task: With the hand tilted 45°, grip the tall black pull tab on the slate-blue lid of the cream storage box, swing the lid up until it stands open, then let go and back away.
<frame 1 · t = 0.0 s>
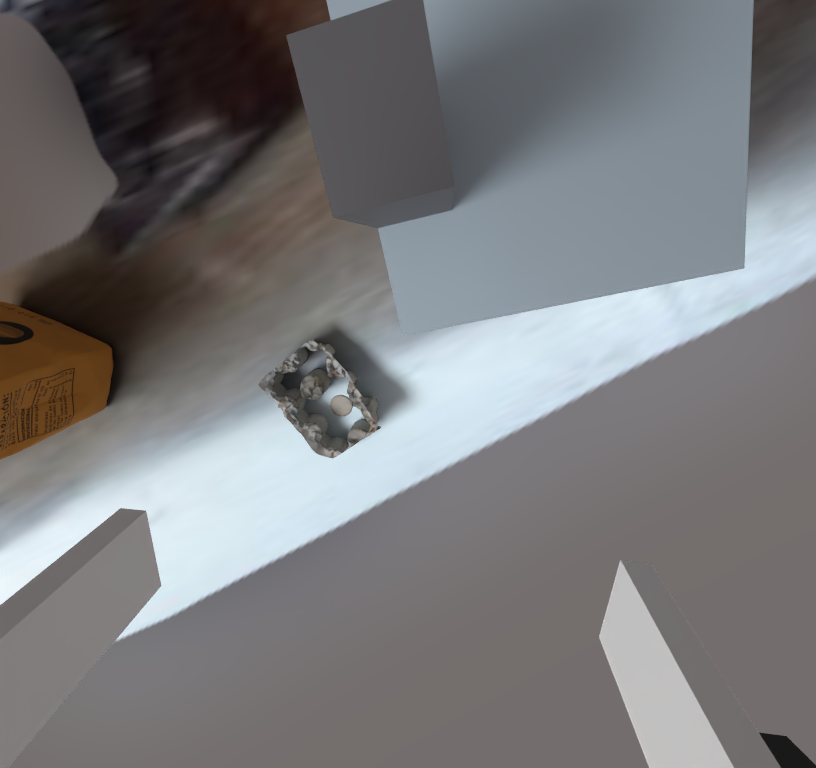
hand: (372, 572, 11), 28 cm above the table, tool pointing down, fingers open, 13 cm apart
egg carton: (330, 392, 41), on the table
lid: (568, 102, 16), point 18 cm above the table, hinge at 0.0°
coffee package: (65, 355, 42), on the table
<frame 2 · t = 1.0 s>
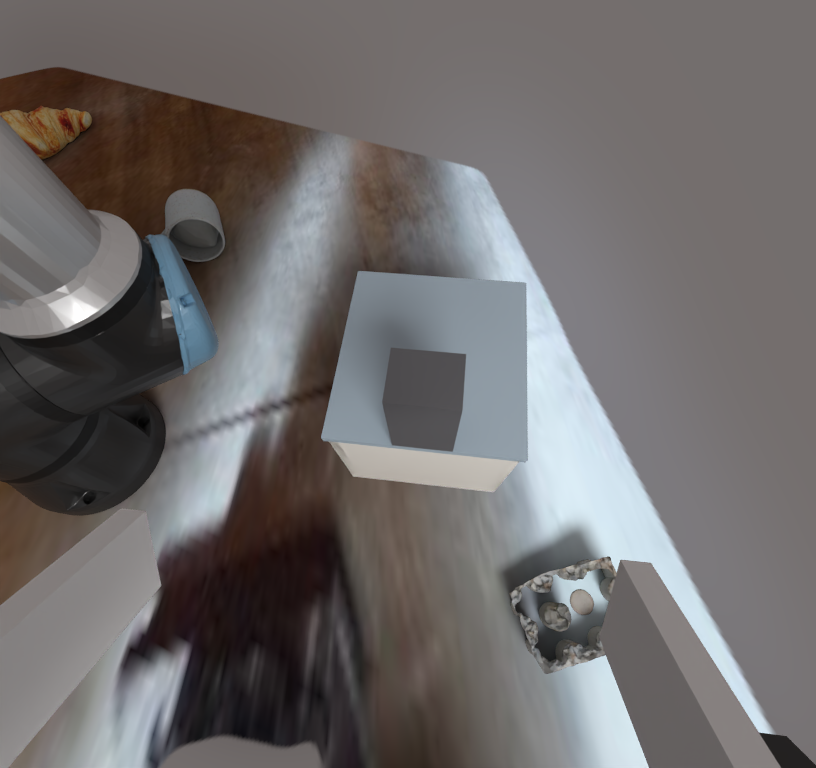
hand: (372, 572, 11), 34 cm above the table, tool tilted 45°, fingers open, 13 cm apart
storage box: (430, 410, 49), on the table
croissant: (44, 151, 75), on the table
ceramic mug: (198, 247, 63), on the table
egg carton: (566, 610, 40), on the table
lid: (433, 328, 33), point 18 cm above the table, hinge at 0.0°
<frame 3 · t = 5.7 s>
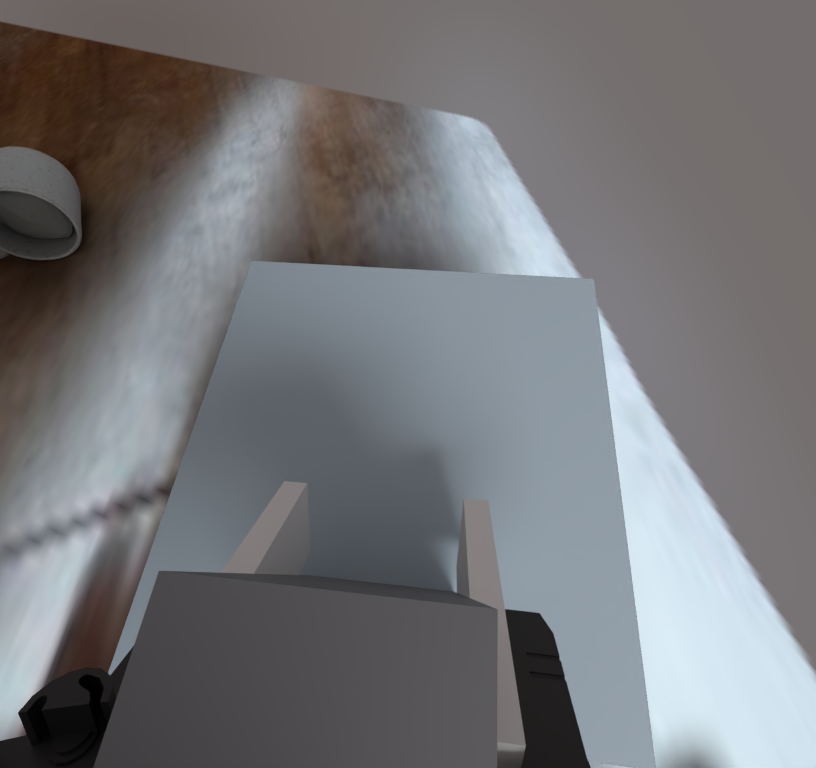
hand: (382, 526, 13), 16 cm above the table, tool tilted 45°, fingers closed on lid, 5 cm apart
ceramic mug: (50, 239, 42), on the table
lid: (389, 404, 12), point 18 cm above the table, hinge at 0.0°, touching gripper
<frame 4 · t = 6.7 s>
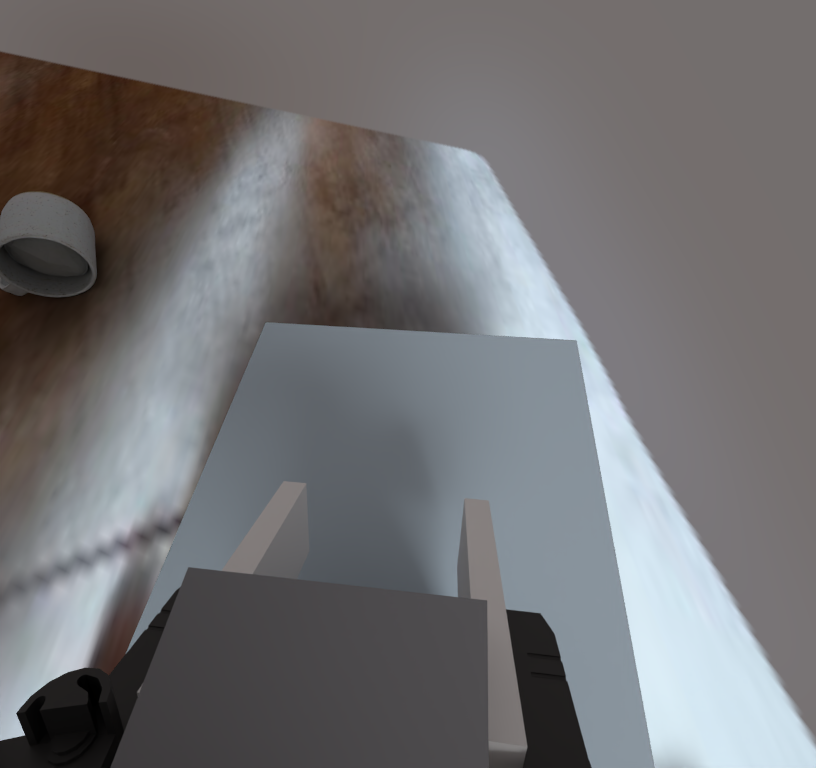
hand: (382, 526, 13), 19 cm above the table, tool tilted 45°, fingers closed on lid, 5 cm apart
ceramic mug: (66, 275, 44), on the table
lid: (390, 445, 13), point 19 cm above the table, hinge at 9.7°, touching gripper
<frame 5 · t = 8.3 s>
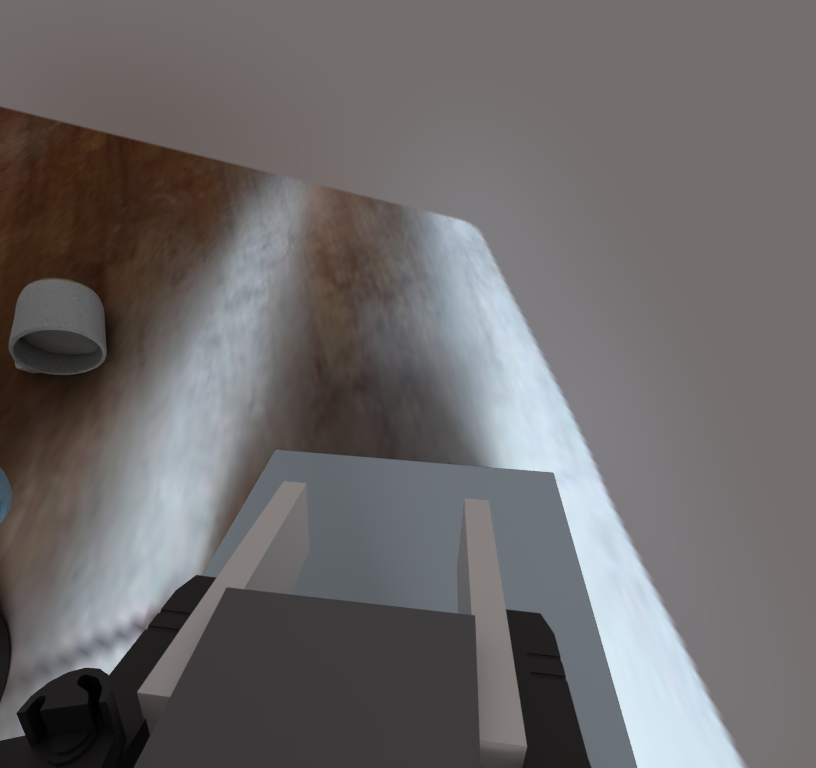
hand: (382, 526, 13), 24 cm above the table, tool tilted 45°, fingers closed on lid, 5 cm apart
ceramic mug: (77, 350, 46), on the table
lid: (387, 543, 15), point 22 cm above the table, hinge at 33.0°, touching gripper
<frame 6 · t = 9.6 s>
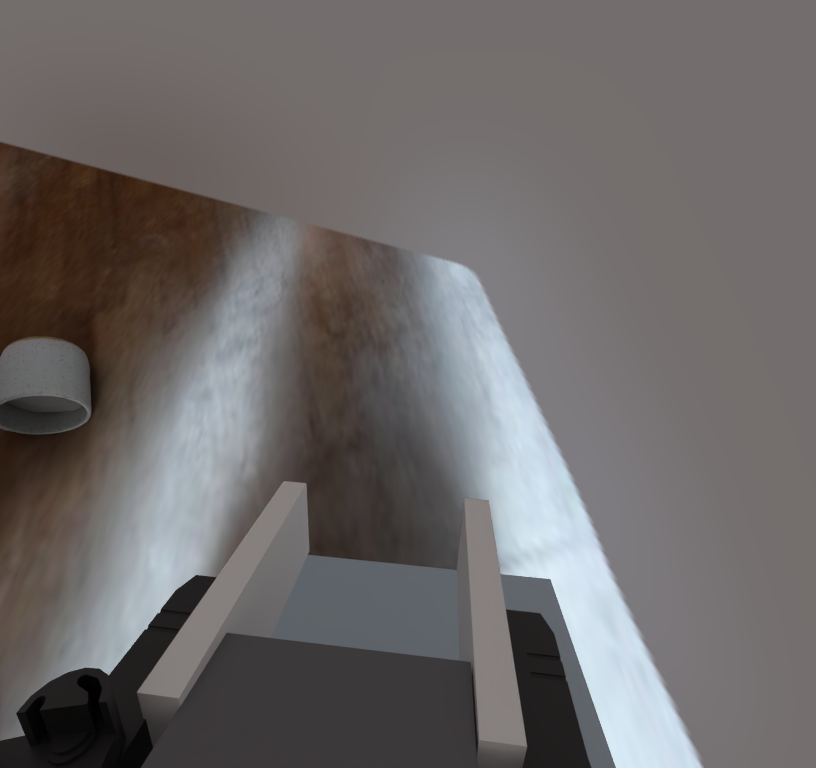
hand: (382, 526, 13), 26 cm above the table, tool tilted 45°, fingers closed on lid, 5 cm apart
ceramic mug: (62, 405, 45), on the table
lid: (380, 636, 14), point 23 cm above the table, hinge at 50.8°, touching gripper
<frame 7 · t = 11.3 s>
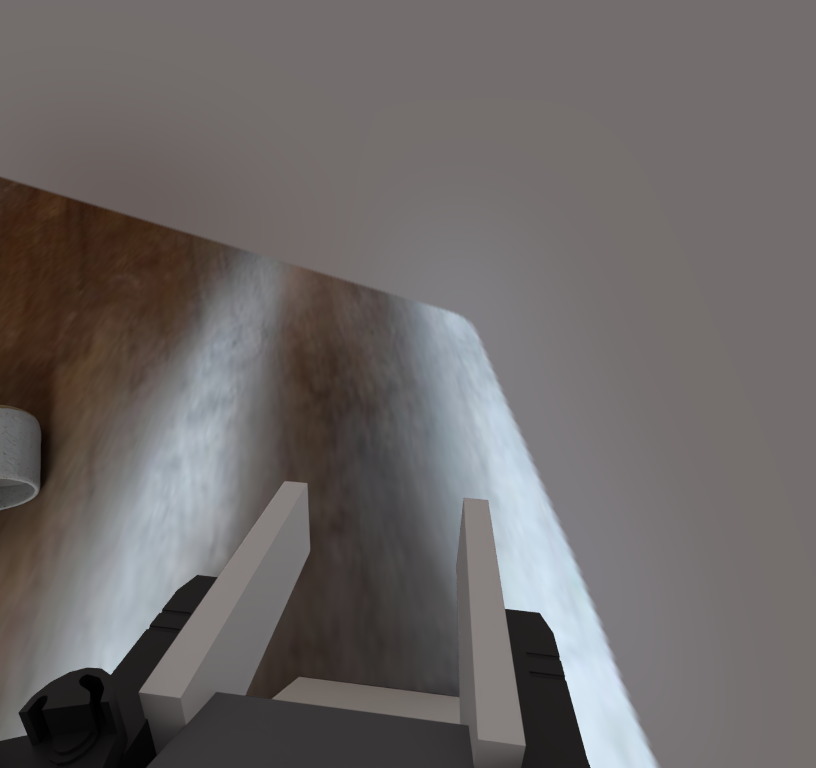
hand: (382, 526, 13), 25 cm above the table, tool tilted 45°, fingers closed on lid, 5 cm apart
ceramic mug: (10, 475, 41), on the table
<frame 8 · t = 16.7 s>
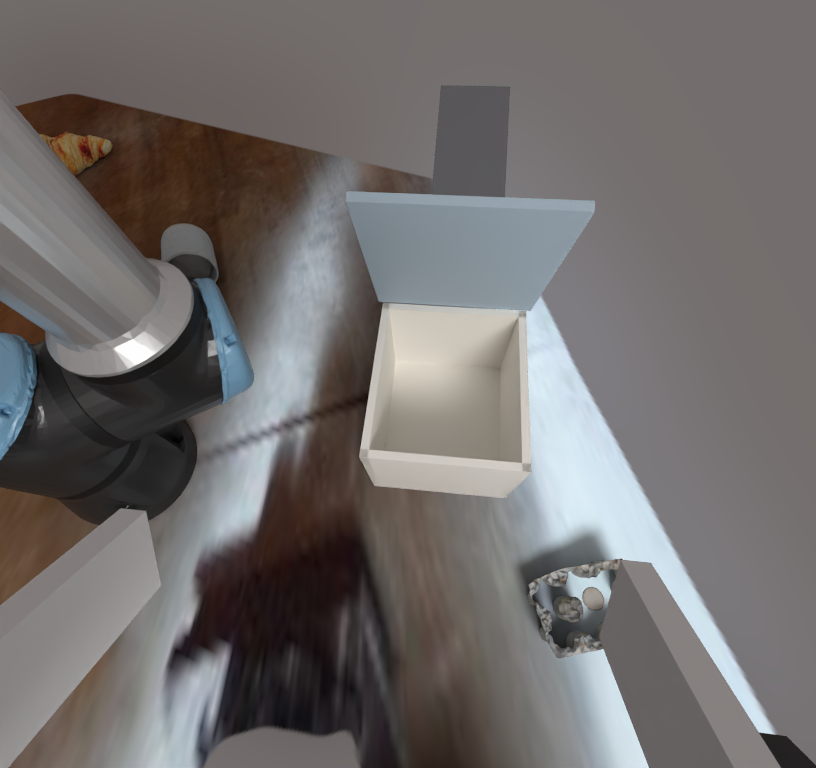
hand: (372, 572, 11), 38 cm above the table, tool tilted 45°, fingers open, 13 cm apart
storage box: (443, 422, 53), on the table
croissant: (64, 172, 79), on the table
ceramic mug: (193, 277, 66), on the table
egg carton: (578, 604, 44), on the table
lid: (462, 219, 37), point 23 cm above the table, hinge at 75.1°
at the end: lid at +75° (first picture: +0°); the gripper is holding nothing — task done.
